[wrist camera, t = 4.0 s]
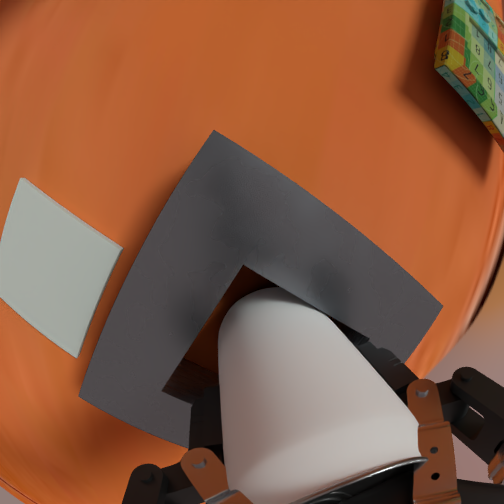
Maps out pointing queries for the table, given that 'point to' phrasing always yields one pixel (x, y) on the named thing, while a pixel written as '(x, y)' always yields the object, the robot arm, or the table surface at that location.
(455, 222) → the table surface
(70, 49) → the table surface
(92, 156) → the table surface
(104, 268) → the mat
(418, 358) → the table surface
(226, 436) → the can
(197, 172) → the hollow block
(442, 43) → the puzzle game
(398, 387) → the robot arm
